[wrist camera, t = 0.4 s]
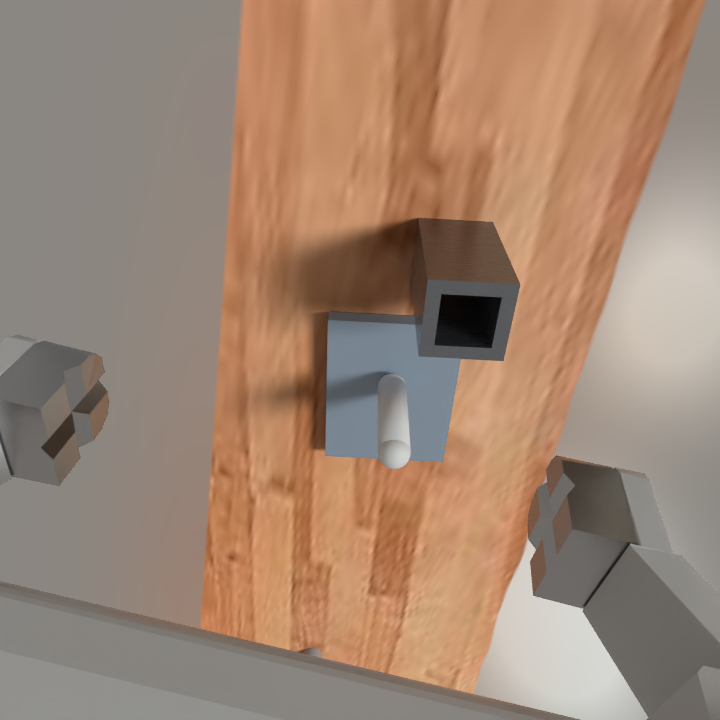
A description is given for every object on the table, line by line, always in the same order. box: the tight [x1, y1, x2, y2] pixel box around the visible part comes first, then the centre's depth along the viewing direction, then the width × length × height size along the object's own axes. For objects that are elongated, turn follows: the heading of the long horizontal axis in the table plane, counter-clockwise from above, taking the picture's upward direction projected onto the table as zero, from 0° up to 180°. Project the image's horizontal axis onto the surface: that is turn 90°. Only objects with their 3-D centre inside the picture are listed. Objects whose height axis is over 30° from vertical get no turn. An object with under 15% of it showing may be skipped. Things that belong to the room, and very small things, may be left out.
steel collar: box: [411, 218, 520, 361], centre depth 44 cm, size 6×6×11 cm
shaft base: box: [325, 312, 461, 469], centre depth 52 cm, size 16×12×12 cm
